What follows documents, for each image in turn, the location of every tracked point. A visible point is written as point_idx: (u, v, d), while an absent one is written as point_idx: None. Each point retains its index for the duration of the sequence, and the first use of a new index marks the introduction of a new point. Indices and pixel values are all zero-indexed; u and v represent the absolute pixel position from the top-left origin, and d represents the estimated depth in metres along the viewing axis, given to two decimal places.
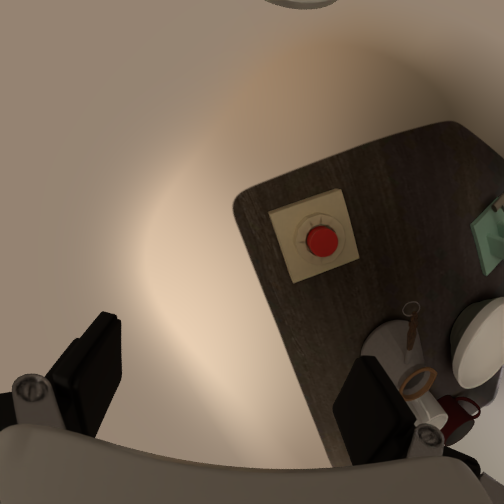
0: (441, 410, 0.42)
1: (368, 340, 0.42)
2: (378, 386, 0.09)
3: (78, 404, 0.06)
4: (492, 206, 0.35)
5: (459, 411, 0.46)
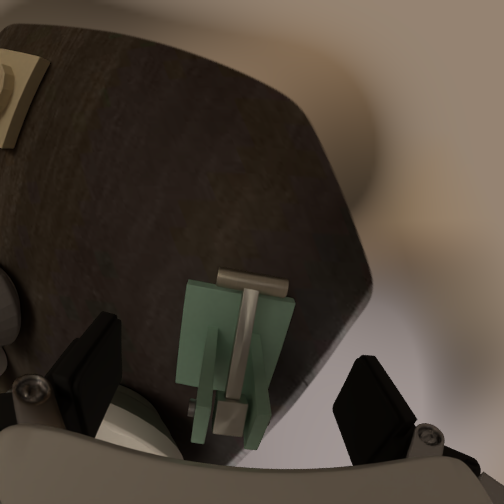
0: None
1: None
2: (378, 386, 0.09)
3: (78, 404, 0.06)
4: None
5: None
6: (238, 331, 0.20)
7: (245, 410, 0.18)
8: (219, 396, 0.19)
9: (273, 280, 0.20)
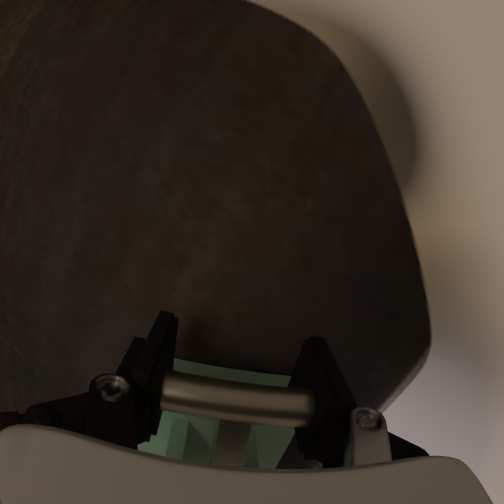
0: None
1: None
2: (320, 366, 0.09)
3: (153, 399, 0.07)
4: None
5: None
6: None
7: None
8: None
9: (283, 402, 0.08)
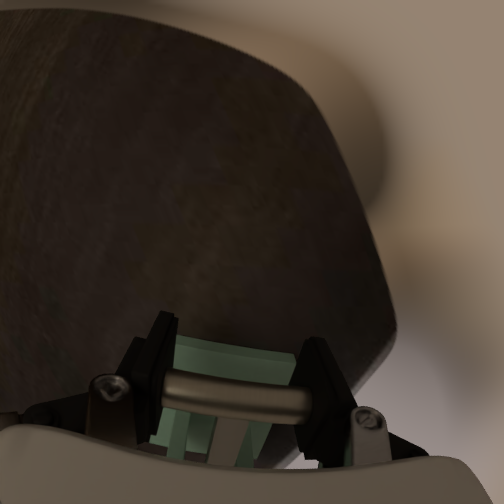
0: None
1: None
2: (320, 366, 0.09)
3: (152, 399, 0.07)
4: None
5: None
6: (210, 463, 0.09)
7: None
8: None
9: (280, 408, 0.09)
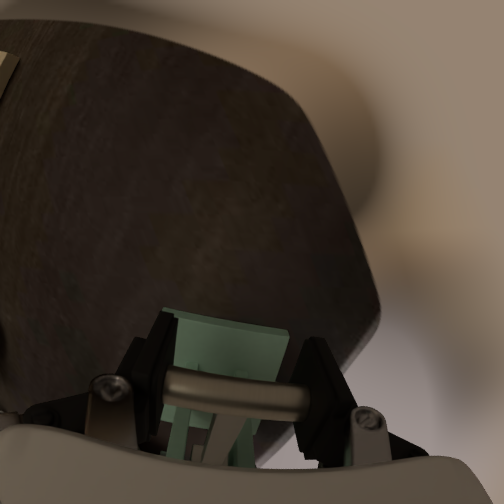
0: None
1: None
2: (320, 366, 0.09)
3: (153, 399, 0.07)
4: None
5: None
6: (211, 442, 0.11)
7: None
8: None
9: (277, 410, 0.09)
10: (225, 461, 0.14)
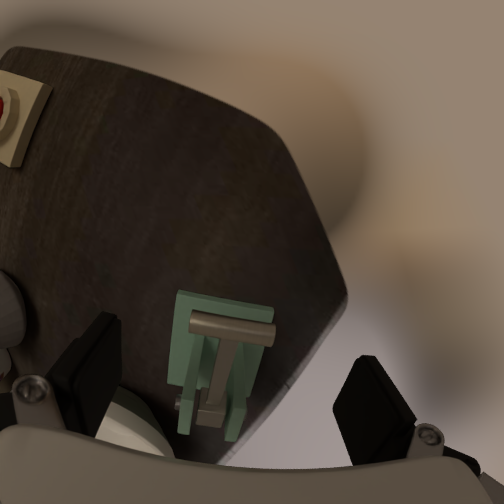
0: None
1: None
2: (378, 386, 0.09)
3: (78, 404, 0.06)
4: (191, 314, 0.17)
5: None
6: (216, 368, 0.18)
7: (222, 417, 0.20)
8: (201, 401, 0.21)
9: (255, 335, 0.16)
10: (224, 399, 0.21)
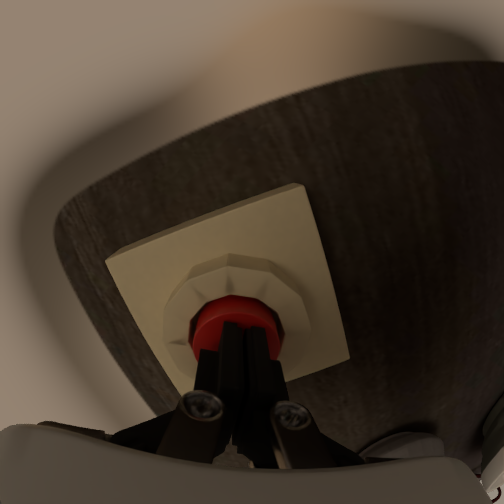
0: None
1: None
2: (251, 355, 0.09)
3: (235, 410, 0.08)
4: None
5: None
6: None
7: None
8: None
9: None
10: None
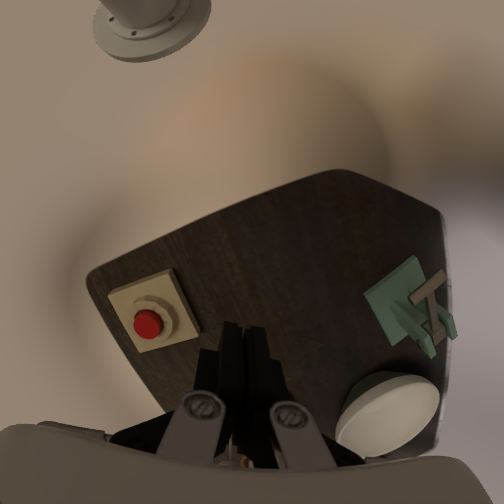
0: None
1: None
2: (251, 355, 0.09)
3: (235, 410, 0.08)
4: (409, 298, 0.28)
5: None
6: (430, 309, 0.29)
7: (444, 329, 0.31)
8: (430, 332, 0.32)
9: (438, 281, 0.27)
10: (438, 320, 0.32)
